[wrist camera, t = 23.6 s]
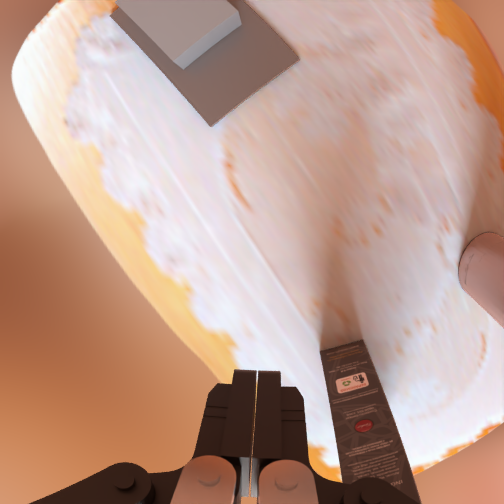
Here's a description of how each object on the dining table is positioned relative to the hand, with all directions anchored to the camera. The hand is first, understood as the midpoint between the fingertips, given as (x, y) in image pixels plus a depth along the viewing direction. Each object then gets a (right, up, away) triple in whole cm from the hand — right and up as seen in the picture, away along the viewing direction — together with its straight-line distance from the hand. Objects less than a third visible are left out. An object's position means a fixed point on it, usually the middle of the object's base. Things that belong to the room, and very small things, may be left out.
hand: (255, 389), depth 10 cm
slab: (-4, +26, +17) cm, 31 cm away
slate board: (-6, +29, +19) cm, 35 cm away
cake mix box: (+15, -18, +34) cm, 41 cm away
